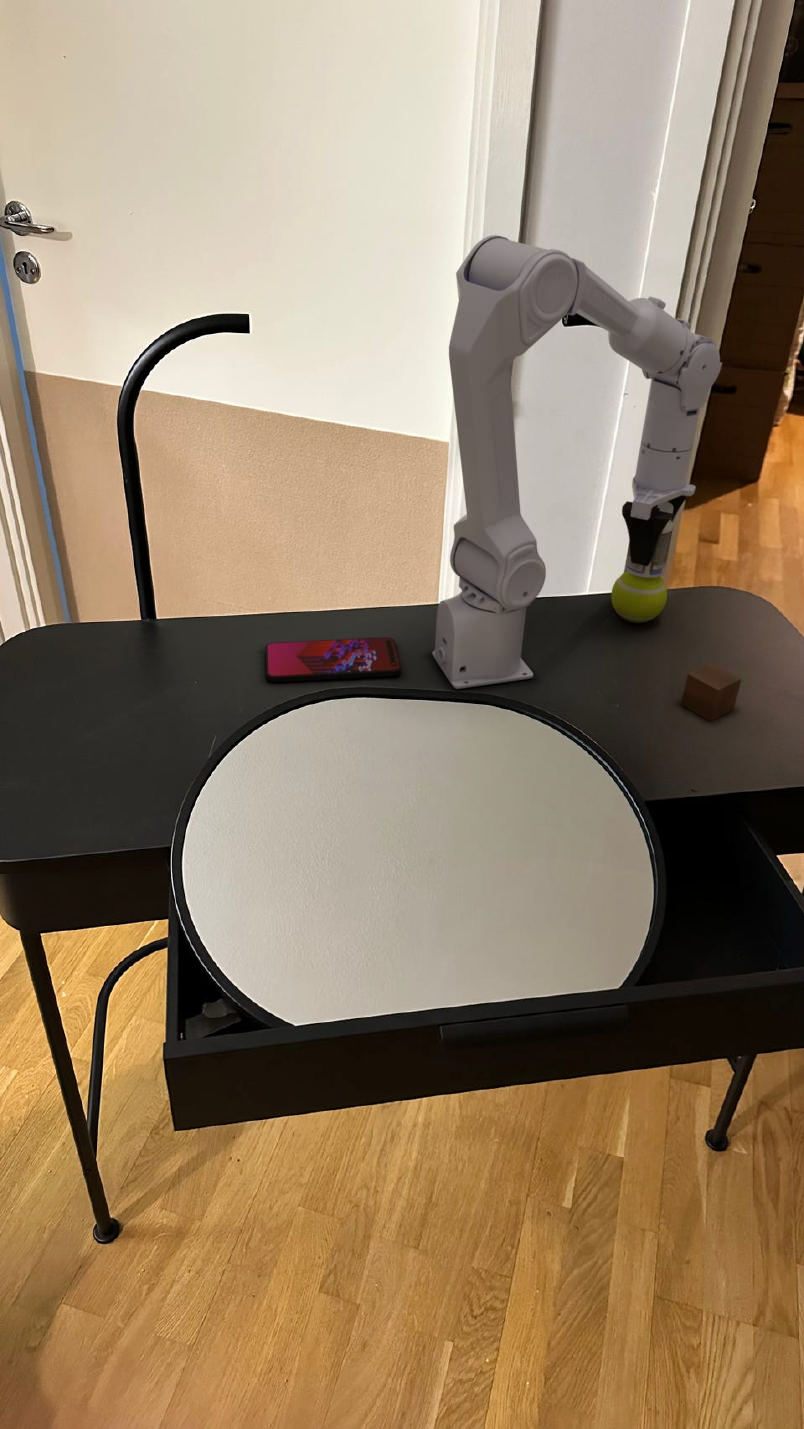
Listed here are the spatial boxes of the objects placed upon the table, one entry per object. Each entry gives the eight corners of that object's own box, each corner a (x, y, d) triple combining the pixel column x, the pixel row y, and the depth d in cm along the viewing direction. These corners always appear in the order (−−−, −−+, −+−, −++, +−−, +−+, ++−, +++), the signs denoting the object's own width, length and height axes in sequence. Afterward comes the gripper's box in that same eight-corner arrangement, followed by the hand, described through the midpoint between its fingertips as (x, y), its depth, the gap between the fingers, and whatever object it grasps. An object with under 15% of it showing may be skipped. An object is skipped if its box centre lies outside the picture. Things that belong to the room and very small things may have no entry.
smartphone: (265, 642, 113) (394, 636, 115) (265, 648, 114) (394, 642, 116) (266, 677, 107) (402, 670, 109) (266, 684, 107) (402, 677, 109)
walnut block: (710, 721, 104) (718, 690, 102) (680, 704, 107) (687, 673, 104) (733, 709, 106) (742, 678, 104) (704, 693, 109) (711, 662, 106)
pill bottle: (661, 563, 121) (674, 498, 116) (666, 580, 117) (679, 513, 112) (622, 561, 121) (633, 496, 116) (626, 577, 117) (637, 511, 112)
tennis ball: (658, 636, 119) (668, 586, 115) (603, 626, 121) (611, 577, 117) (664, 612, 124) (674, 564, 121) (611, 603, 126) (619, 555, 122)
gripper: (685, 470, 103) (662, 586, 111) (717, 432, 114) (694, 541, 122) (620, 457, 106) (602, 572, 113) (657, 422, 117) (638, 529, 124)
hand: (646, 555), depth 118 cm, fingers closed on pill bottle, 5 cm apart
